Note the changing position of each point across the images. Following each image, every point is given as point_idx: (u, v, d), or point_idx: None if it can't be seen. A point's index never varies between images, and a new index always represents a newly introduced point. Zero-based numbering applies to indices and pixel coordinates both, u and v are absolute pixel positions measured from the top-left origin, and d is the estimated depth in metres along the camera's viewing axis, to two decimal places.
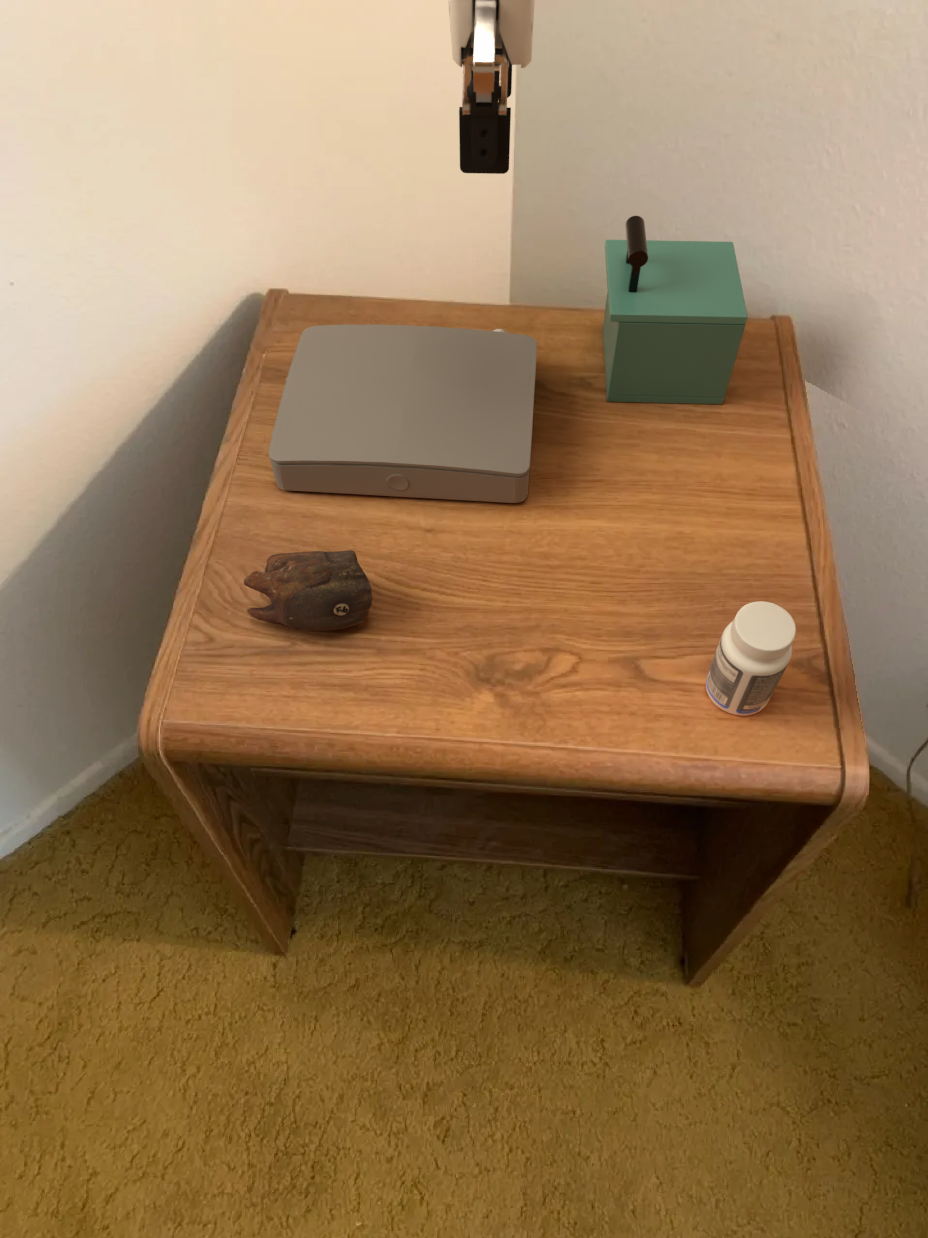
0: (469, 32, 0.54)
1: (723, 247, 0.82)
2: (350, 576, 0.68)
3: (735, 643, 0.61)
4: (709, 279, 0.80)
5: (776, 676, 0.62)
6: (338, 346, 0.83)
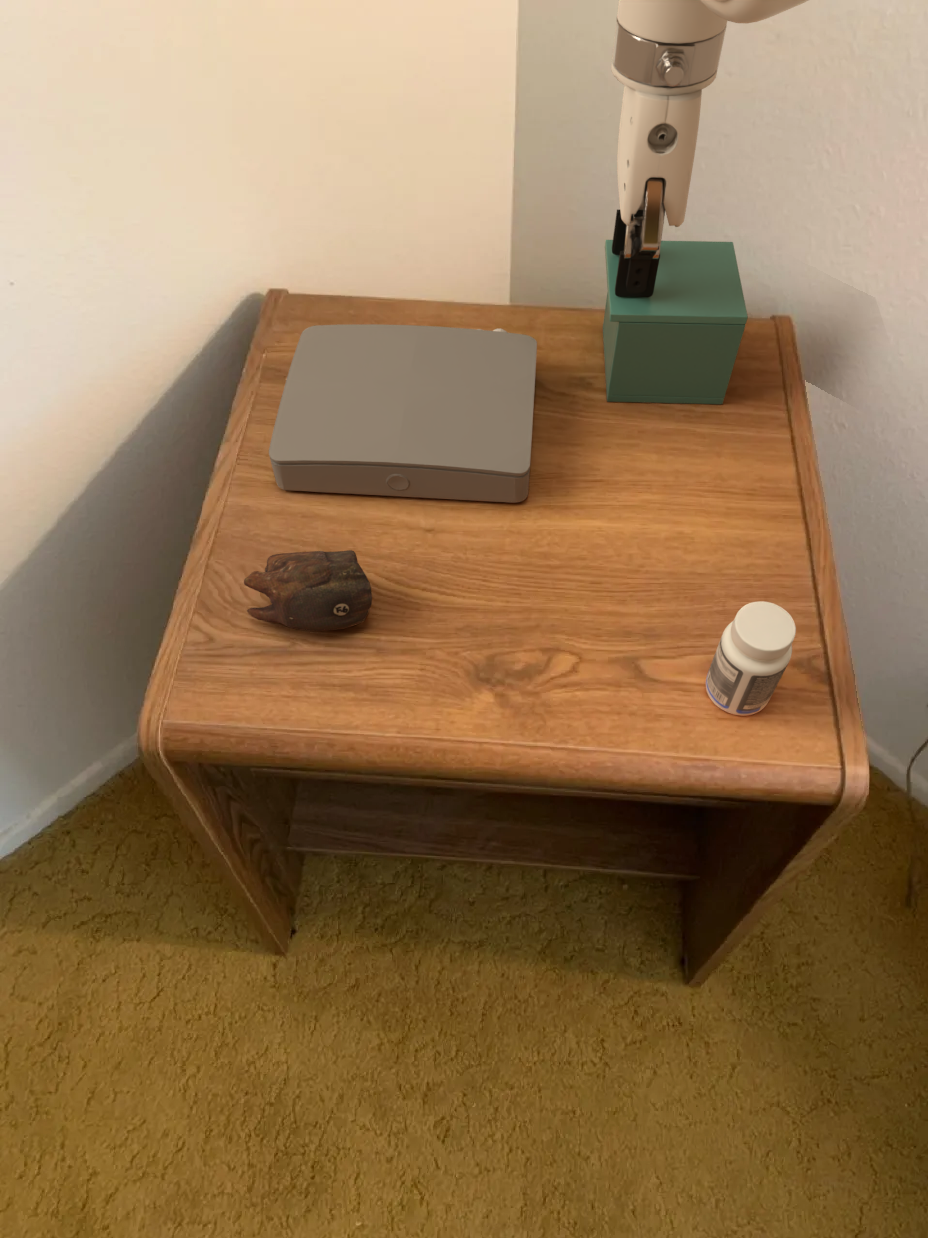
0: (640, 204, 0.69)
1: (723, 247, 0.82)
2: (350, 576, 0.68)
3: (735, 643, 0.61)
4: (709, 279, 0.80)
5: (776, 676, 0.62)
6: (338, 346, 0.83)
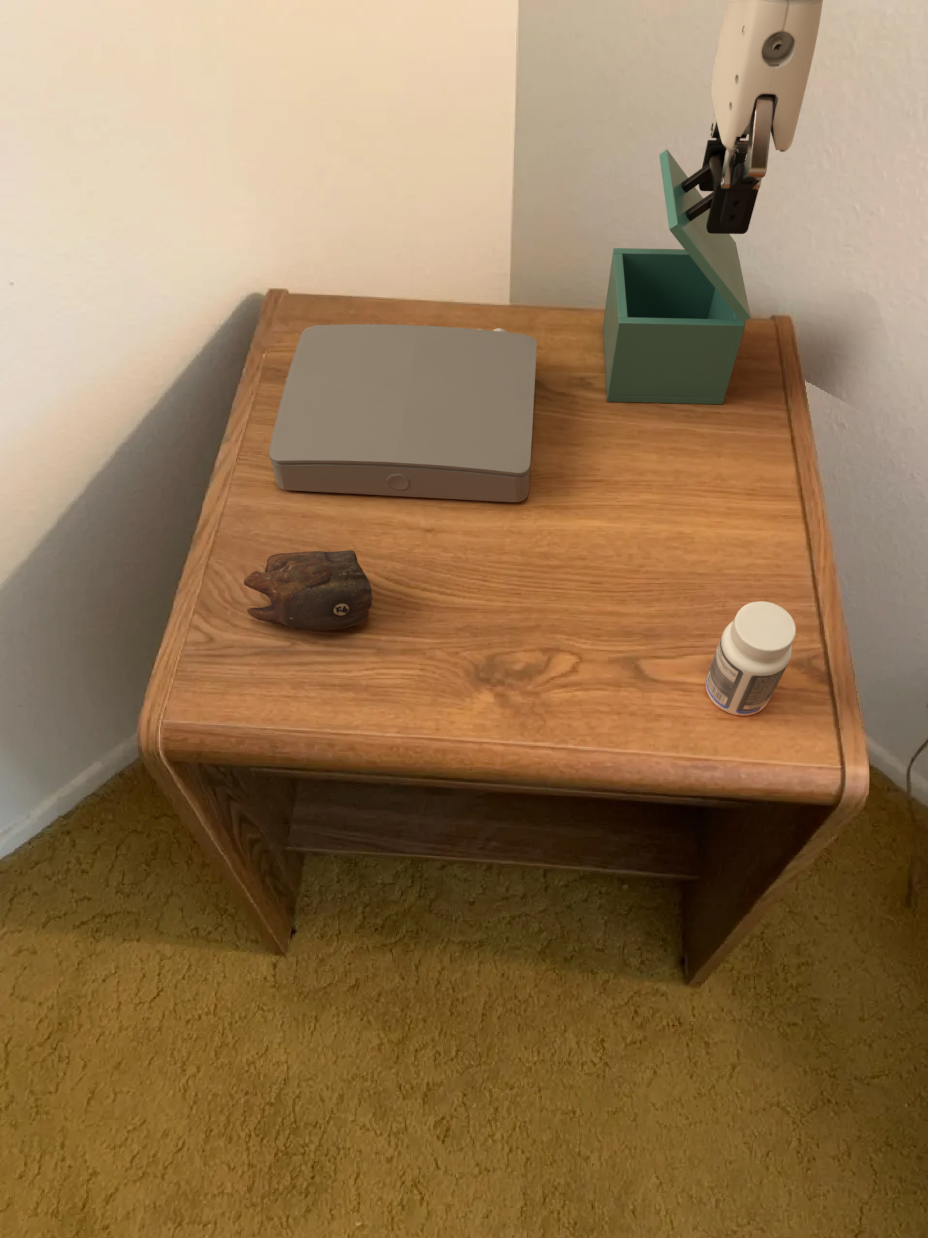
0: (746, 125, 0.64)
1: (732, 241, 0.82)
2: (350, 576, 0.68)
3: (735, 643, 0.61)
4: (728, 260, 0.78)
5: (776, 676, 0.62)
6: (338, 346, 0.83)
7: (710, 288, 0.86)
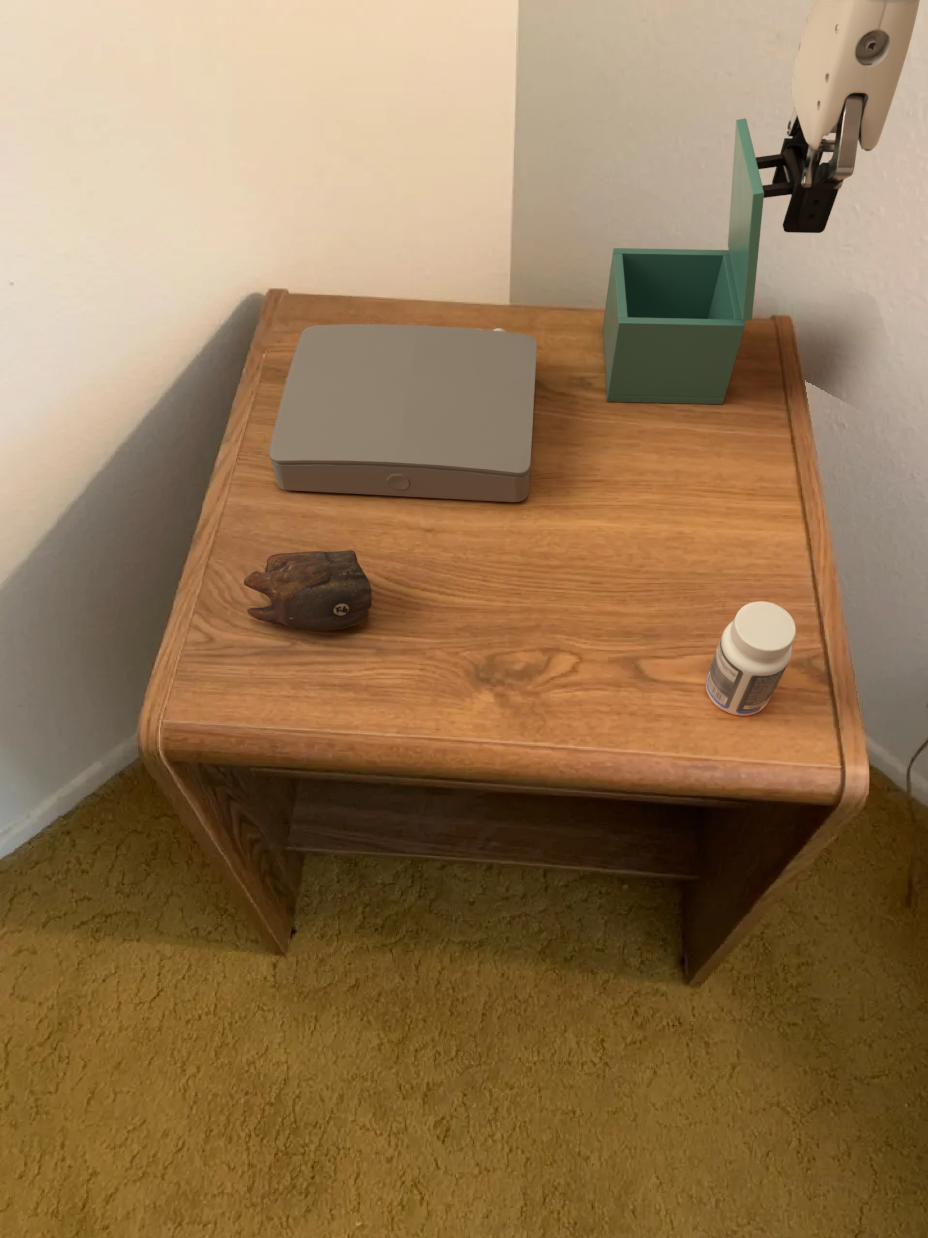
0: (834, 124, 0.64)
1: None
2: (350, 576, 0.68)
3: (735, 643, 0.61)
4: None
5: (776, 676, 0.62)
6: (338, 345, 0.83)
7: (710, 288, 0.86)
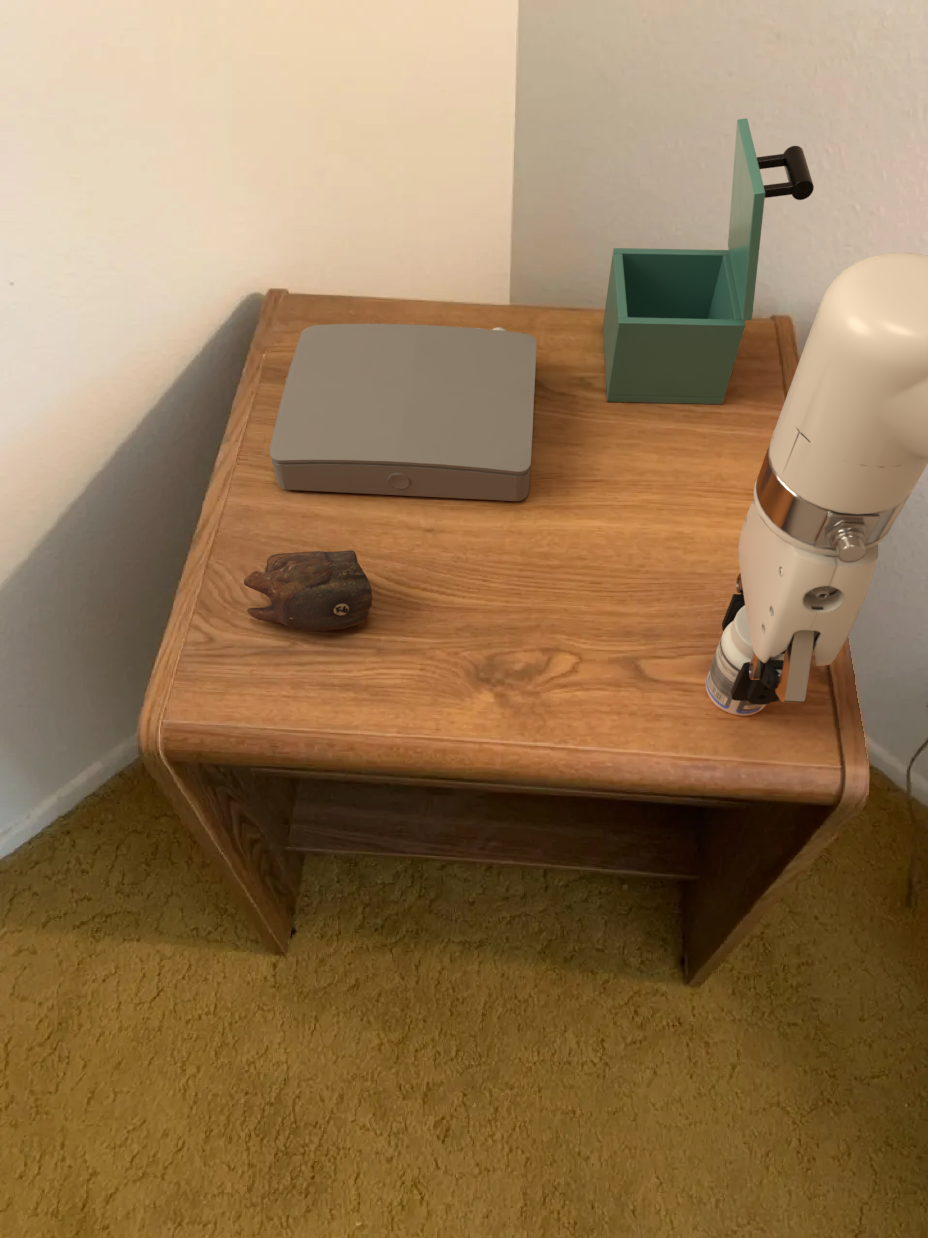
0: (782, 650, 0.54)
1: None
2: (350, 576, 0.68)
3: (735, 643, 0.61)
4: None
5: None
6: (338, 345, 0.83)
7: (710, 288, 0.86)
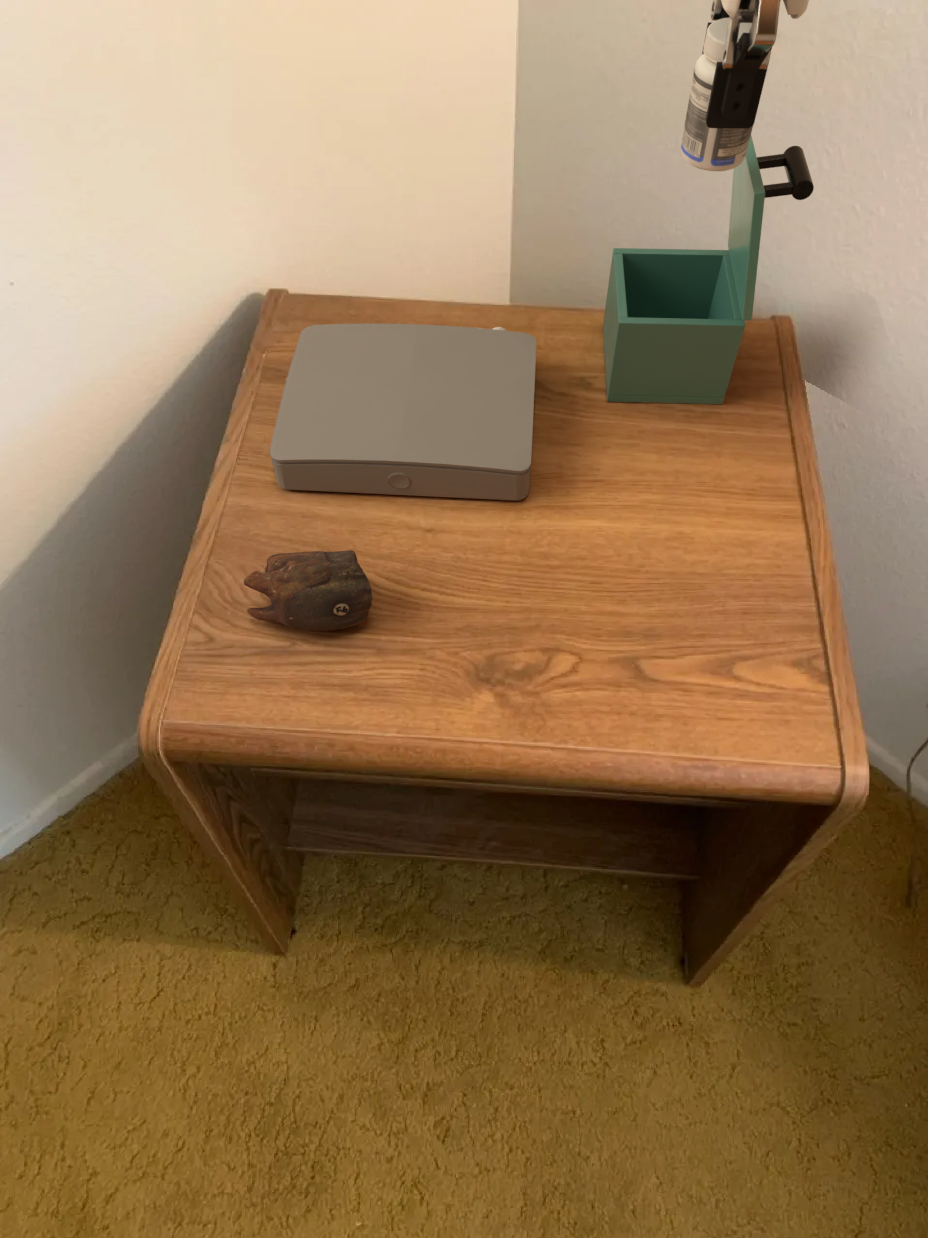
0: None
1: None
2: (350, 576, 0.68)
3: (708, 54, 0.61)
4: None
5: None
6: (338, 345, 0.83)
7: (710, 288, 0.86)
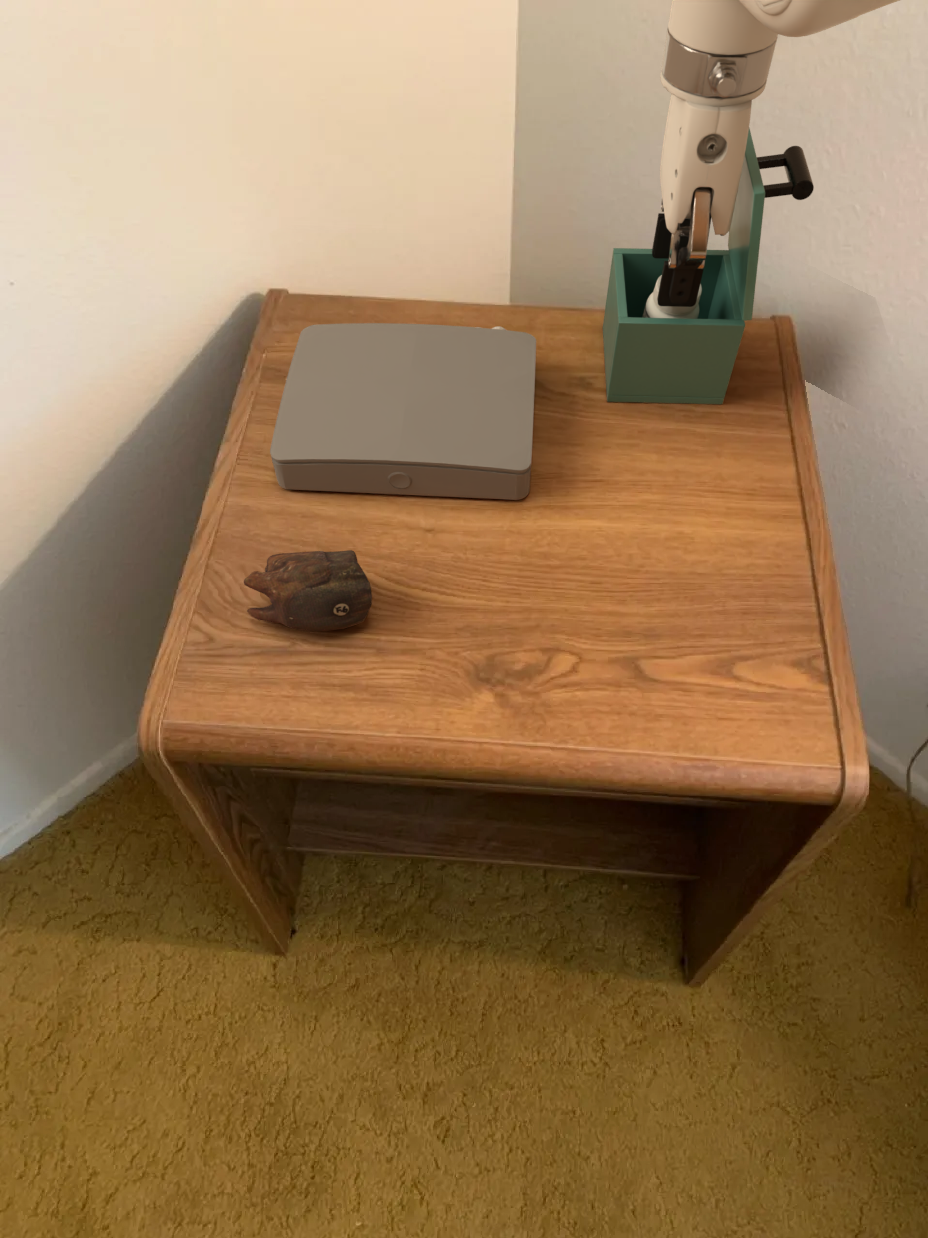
0: (686, 213, 0.70)
1: None
2: (350, 576, 0.68)
3: (655, 301, 0.80)
4: None
5: None
6: (338, 345, 0.83)
7: (710, 288, 0.86)
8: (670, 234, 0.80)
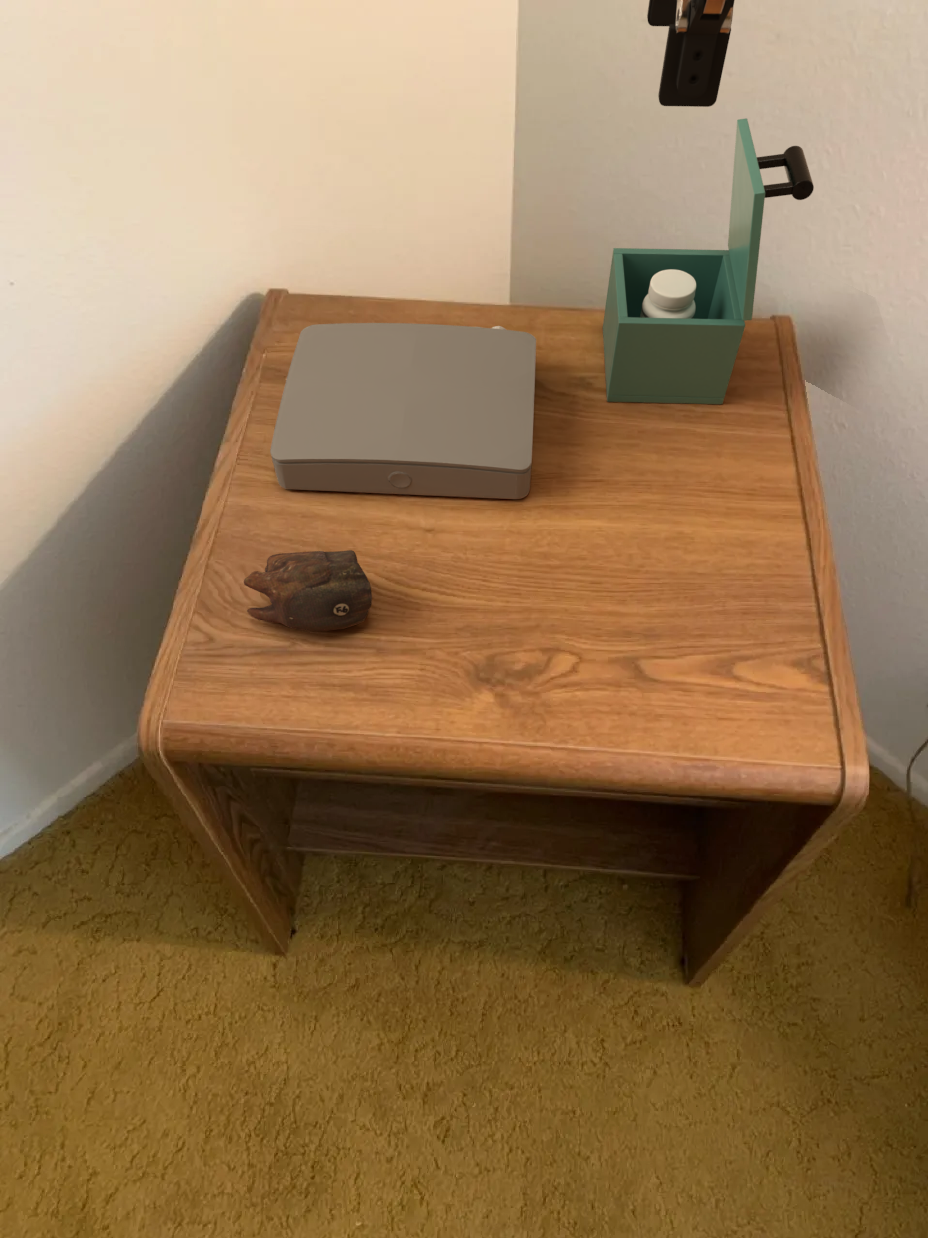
0: None
1: None
2: (350, 576, 0.68)
3: (651, 298, 0.81)
4: None
5: None
6: (338, 344, 0.83)
7: (710, 288, 0.86)
8: None
